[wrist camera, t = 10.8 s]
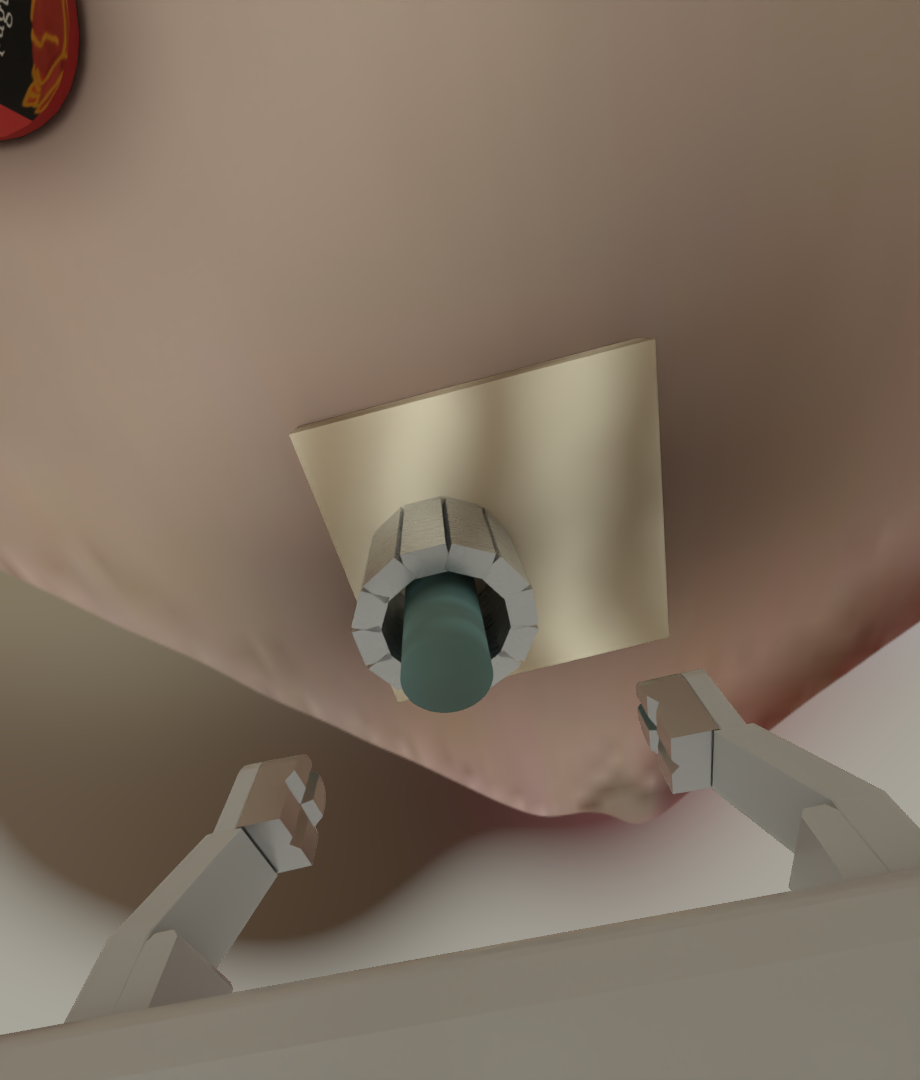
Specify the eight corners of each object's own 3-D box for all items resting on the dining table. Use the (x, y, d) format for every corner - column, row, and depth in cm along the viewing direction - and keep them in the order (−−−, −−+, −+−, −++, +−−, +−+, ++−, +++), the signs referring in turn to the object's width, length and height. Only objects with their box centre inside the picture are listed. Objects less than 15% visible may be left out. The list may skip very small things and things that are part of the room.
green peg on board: (637, 337, 18) (797, 346, 10) (655, 619, 24) (764, 757, 16) (298, 426, 18) (211, 497, 11) (399, 681, 24) (388, 843, 17)
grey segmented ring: (498, 481, 18) (520, 525, 14) (524, 608, 21) (549, 675, 17) (347, 519, 19) (326, 572, 15) (392, 640, 21) (385, 713, 17)
